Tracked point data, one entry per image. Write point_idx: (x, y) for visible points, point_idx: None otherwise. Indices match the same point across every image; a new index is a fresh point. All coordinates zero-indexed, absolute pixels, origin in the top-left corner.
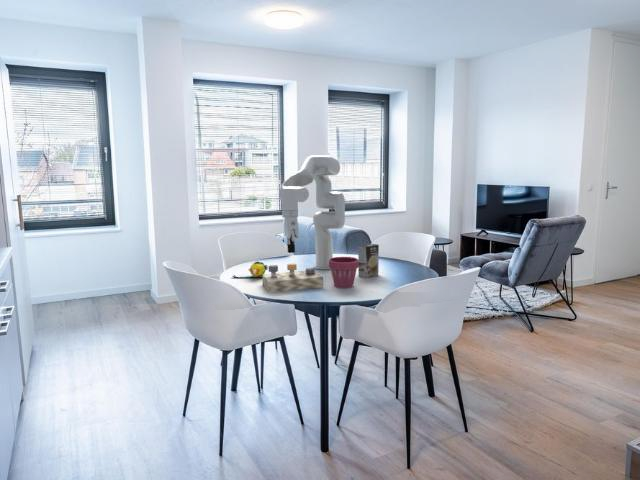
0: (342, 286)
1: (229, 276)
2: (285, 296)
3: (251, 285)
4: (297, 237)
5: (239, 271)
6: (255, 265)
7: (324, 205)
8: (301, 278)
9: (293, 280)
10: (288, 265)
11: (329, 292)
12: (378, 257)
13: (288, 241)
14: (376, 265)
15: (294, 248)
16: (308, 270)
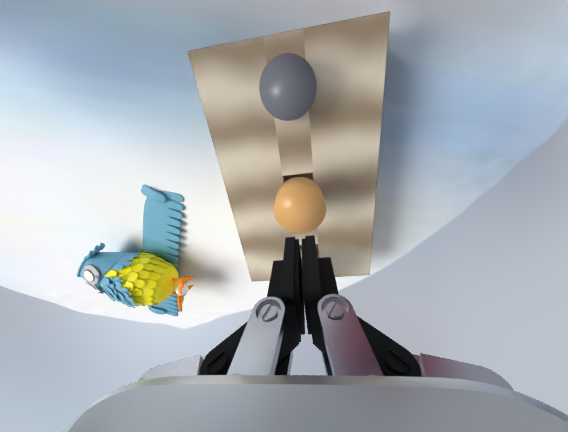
0: None
1: (155, 316)
2: (431, 214)
3: (262, 282)
4: (459, 394)
5: (93, 295)
6: (152, 299)
7: None
8: (373, 155)
9: (373, 191)
10: (314, 228)
11: (485, 16)
12: None
13: (288, 366)
14: None
15: (316, 258)
16: (311, 105)
